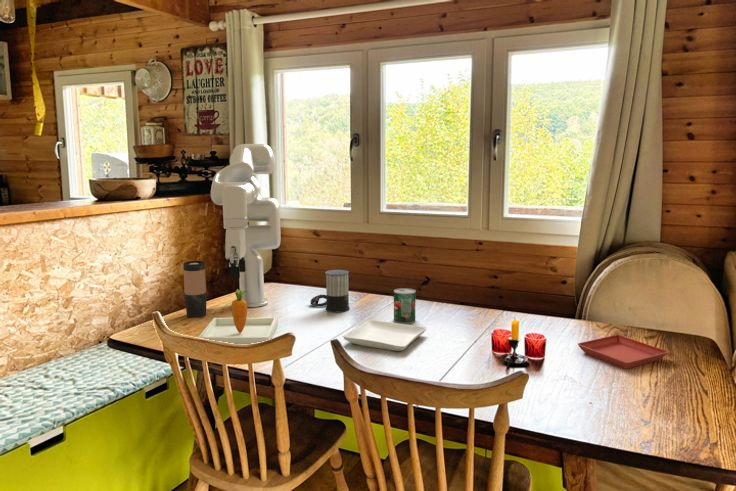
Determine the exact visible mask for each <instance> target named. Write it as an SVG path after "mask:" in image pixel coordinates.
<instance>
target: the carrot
mask: <svg viewBox="0 0 736 491" xmlns="http://www.w3.org/2000/svg"><path fill="white" fill-rule="evenodd" d="M245 292H246V291H243V292H242V290H240V289H238V288H237V289H236V290H235V297H236V299H234V300H232V302H231V312H232V314H231V315H232V318H233V320H234V324H235V326H236V329H237V330H238V332H239V333H241V332H242V331H243V329H244V326H245V323H246V318H248V317H247V316H248V307H247V302H246V301H245V300H244V299H241V298H242V297H243V296H242V295H243V294H244V293H245ZM241 293H242V294H241Z"/></svg>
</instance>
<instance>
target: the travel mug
mask: <svg viewBox="0 0 736 491" xmlns="http://www.w3.org/2000/svg"><path fill="white" fill-rule="evenodd" d="M182 265H183V266H182V268H183V283H184V284H183V286H184V288H183V289H184V303H185V312H186V317H187V318H191V319H194V318H195V319H197V318H203V317H205V316H207V284H206V269H205V268H206V267H205V261H202V260H188V261H184V262H183V263H182Z"/></svg>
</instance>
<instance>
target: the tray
mask: <svg viewBox="0 0 736 491" xmlns="http://www.w3.org/2000/svg"><path fill="white" fill-rule="evenodd" d="M278 323H279V321H278V317H277V316H276V317H275V316H273V317H271V316H270V317H265V316H263V317H246V323H245V326H244V329H243V331H242V332H241V333H239V332H238V330H237V329H236V326H235V324H234V320H233V317H213V319H212V320H211V321H210V322H209V323H208V324H207V325H206V327H205V328H204V329H203V330H202V332H201V333H200V334H199V335H198V337H200V338H204V339H209V340H215V341H222V342H228V343H234V344H251V343H257V342H262V341H266V340H269V339H272V340H273V337H274V335H275V333H276V331H277V328H278V326H279V325H278ZM198 337H197V338H198Z"/></svg>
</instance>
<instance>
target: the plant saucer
mask: <svg viewBox="0 0 736 491" xmlns="http://www.w3.org/2000/svg"><path fill="white" fill-rule="evenodd" d="M577 345H578V347H579V348H580V349H581V350H582V352H584V354H586V355H588V356H591V357H594V358H596V359H599V360H601V361H603V362H606V363H609V364H612V365H614V366H617V367H619V368H622V369H625V370H627V369H632V368H636V367H639V366H643V365H646V364H650V363H654V362H657V361H660V360H661V359H663V358H664V357H665V356H666V355H667V354H669V351H668V350H665V349H663V348H660V347H656V346H653V345H651V344H648V343H644V342H641V341H639V340H637V339H636V340H635V339H633V338H630V337H627V336H624V335H620V334H613V335H609V336H604V337H600V338H595V339H591V340H587V341H583V342H578V343H577Z"/></svg>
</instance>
